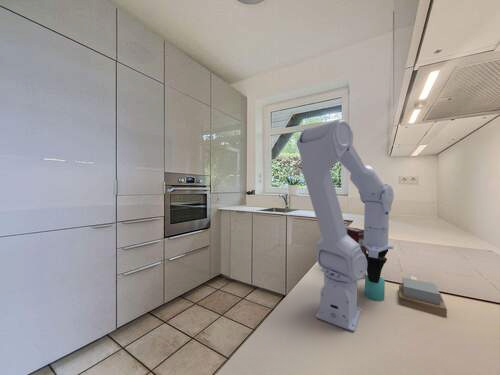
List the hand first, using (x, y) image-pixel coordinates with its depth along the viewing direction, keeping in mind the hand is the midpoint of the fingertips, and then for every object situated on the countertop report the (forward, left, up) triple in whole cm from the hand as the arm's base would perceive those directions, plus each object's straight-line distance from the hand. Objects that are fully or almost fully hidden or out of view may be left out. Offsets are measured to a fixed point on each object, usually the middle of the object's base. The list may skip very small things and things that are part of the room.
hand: (374, 276), depth 58 cm
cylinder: (0, 0, -5) cm, 5 cm away
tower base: (+4, -10, -6) cm, 12 cm away
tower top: (+4, -10, -3) cm, 11 cm away
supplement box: (+12, +8, -6) cm, 15 cm away
